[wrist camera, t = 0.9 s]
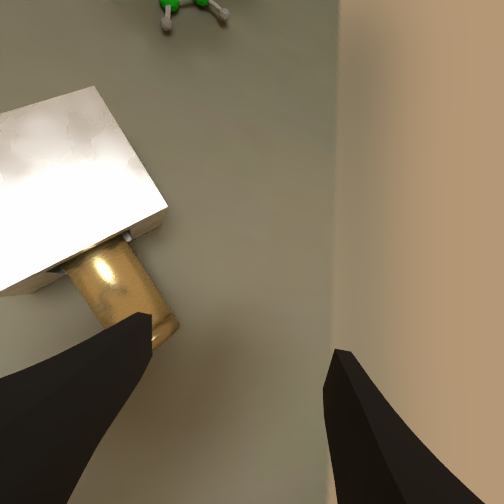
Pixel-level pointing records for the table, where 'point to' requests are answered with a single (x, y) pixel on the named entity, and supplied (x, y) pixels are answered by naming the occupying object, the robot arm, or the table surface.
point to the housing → (66, 188)
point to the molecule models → (172, 3)
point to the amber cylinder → (119, 287)
